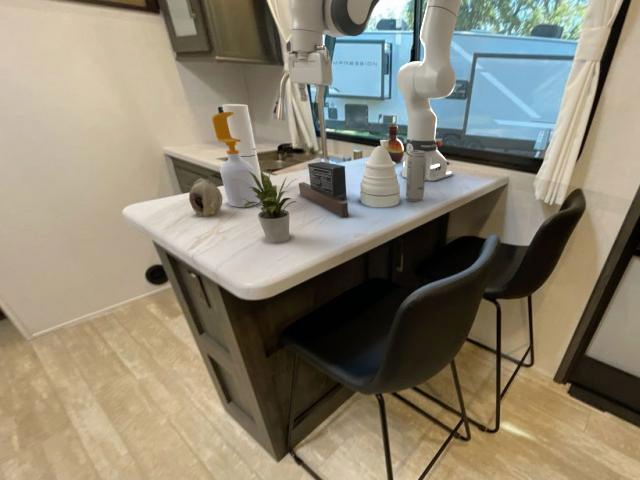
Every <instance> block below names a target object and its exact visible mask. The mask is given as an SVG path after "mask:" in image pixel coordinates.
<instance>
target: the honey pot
mask: <svg viewBox="0 0 640 480" xmlns="http://www.w3.org/2000/svg"><path fill="white" fill-rule="evenodd" d="M379 142H380V145H378V146H376V147H375V148H374V149H373V150H372V152H371V153H370V156H369V158H368V159H367V160H366V161H364V162H363V165H364V167H365V169H364V172H363V174H362V178H361V182H360V185H359V189H360V190H359V191H360V192H359V193H360V203H361V204H363V205H365V206H368V207H372V208H390V207H394V206H397V205H398V204H400V198H401V194H400V193H401V192H400V190H401V185H400V183H399V178H398V173H397V172H396V167H397V162H396V163H395V162H393V161H392V159H391V157H390V155H389V153H388V151H387V150H386V149H385V147H386V146H387V145H388V140H386V139H380V140H379Z"/></svg>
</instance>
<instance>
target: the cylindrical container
mask: <svg viewBox="0 0 640 480" xmlns="http://www.w3.org/2000/svg"><path fill="white" fill-rule="evenodd" d="M221 107H222V112H233V114H232V115H230V116H228V117H227V123H228V127H229V131H230V135H231V137H232V138H234V139H240V140H241V141H240V142H236V145H235V149H236V150H239V153H240V157H241V159H242V160H243V161H245V162H247V163H249V164H250V165H252V167H253V169H254V172H255V176H256V177H257V179H258V180H259V182H260V184H261V186H262V188H263V185H262V181H261V167H260V163H259V158H258V153H257V147H256V142H255V137H254V132H253V127H252V122H251V117H250V112H249V107H248V105H247V104H241V103H225V104H221ZM257 187H258V185H257ZM263 189H264V188H263ZM258 190H260V188H259V187H258Z"/></svg>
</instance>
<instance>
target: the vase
mask: <svg viewBox="0 0 640 480" xmlns="http://www.w3.org/2000/svg"><path fill="white" fill-rule="evenodd" d="M398 129H399V127H398V125H396V124H390V125H388V138H386V139H385V140H388V145H387V146H386V147H385V149H386V150H387V151H388V153H389V155H390V157H391V159H392V161H393V162H395V163H396V164H397V163H400V162H402V160H403V158H404V155H405V145H404V144H403V141H401V140H400V139H399V138H398Z"/></svg>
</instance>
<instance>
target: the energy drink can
mask: <svg viewBox="0 0 640 480" xmlns="http://www.w3.org/2000/svg"><path fill="white" fill-rule="evenodd" d="M426 160H427V157H426V155H425V151H422V150H411V151H410V154H409V155H408V163H407V178H406V183H405V185H406V186H405V187H406V188H405V197H406V198H407V201H410V202H421V201H422V199H423V198H424V197H425V184H426V180H425V173H426Z"/></svg>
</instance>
